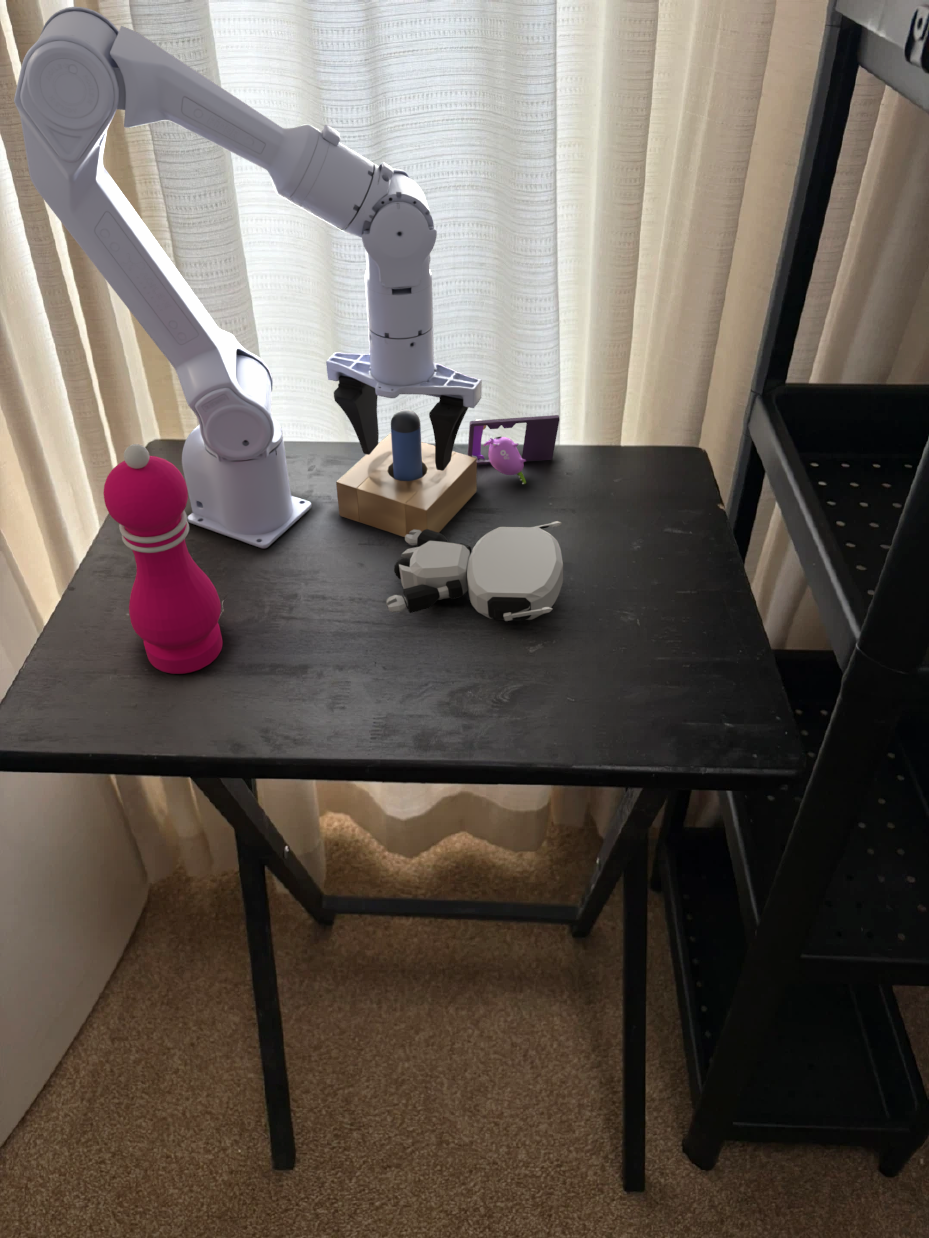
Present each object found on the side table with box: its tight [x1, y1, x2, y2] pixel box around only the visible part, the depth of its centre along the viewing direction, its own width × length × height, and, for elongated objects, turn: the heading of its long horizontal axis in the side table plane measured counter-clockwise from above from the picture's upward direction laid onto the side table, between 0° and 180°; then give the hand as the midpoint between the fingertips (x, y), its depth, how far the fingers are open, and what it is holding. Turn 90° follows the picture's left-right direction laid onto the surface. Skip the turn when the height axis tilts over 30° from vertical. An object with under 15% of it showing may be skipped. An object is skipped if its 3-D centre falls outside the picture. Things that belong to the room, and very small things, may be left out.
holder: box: [335, 432, 478, 538], centre depth 101 cm, size 10×10×4 cm
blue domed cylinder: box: [390, 408, 422, 481], centre depth 99 cm, size 3×3×10 cm
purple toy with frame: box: [467, 414, 560, 485], centre depth 104 cm, size 7×5×9 cm
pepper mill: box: [103, 443, 224, 675], centre depth 80 cm, size 7×7×20 cm
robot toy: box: [385, 520, 564, 622], centre depth 91 cm, size 12×4×15 cm
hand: (406, 456), depth 99 cm, fingers open, 7 cm apart
